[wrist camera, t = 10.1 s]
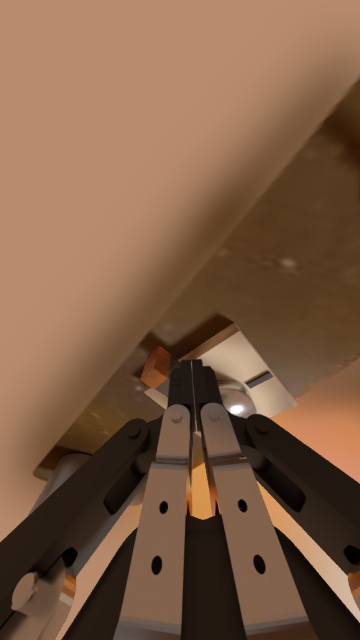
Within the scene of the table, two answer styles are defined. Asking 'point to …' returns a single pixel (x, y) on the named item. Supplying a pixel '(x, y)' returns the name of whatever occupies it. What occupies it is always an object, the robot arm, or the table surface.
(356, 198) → the table surface
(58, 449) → the table surface
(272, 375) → the board
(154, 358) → the orange-tipped lever
